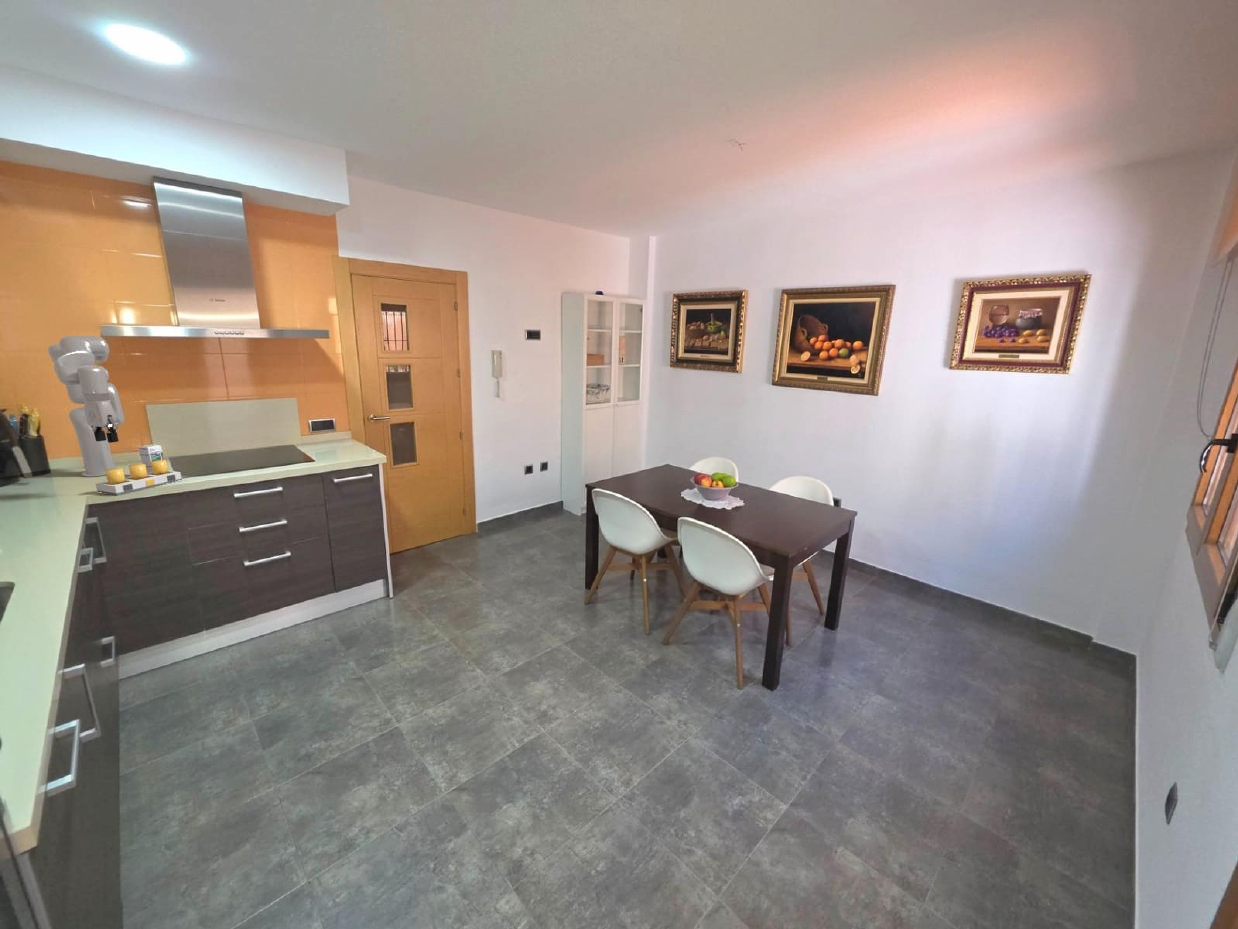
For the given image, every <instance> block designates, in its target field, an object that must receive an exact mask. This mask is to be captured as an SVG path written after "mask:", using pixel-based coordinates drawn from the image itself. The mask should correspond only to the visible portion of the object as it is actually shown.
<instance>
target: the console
mask: <svg viewBox="0 0 1238 929" xmlns="http://www.w3.org/2000/svg"><path fill="white" fill-rule="evenodd" d="M168 472H169V473H168V474H163V475H158V476H157V475H153V472H149V473H147V475H148V478H144V479H140V480H132V479H131V475H130V476H126V477H125V480H126V482H125V483H121V484H116V485H109V484H108V480H107V481H101V482H97V483H95V488H96V491H98V492H102V493H101V494H103V493H106V494H105V495H110V496H111V495H112V496H115V497H116V496H121V495H126V494H130V493H135V492H139V491H143V490H147V489H151V488H156V486H157V487H161V486H164V485H163V484H165V485H167V484H166V483H170V484H172V482H174V483H176V482H175V481H178V480H182V481H183V478H182V474H181V472H180V471H174V470H168ZM178 482H179V481H178ZM160 485H161V486H160ZM98 492H97V493H98Z"/></svg>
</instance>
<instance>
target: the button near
mask: <svg viewBox="0 0 1238 929" xmlns="http://www.w3.org/2000/svg"><path fill="white" fill-rule="evenodd" d="M105 472H106V475H105V476H106V479H107V481H108V484H109V485H116V484H121V483H125V482H126V480H125V472H124V468H122V467H115V469H109V470H105Z"/></svg>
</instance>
